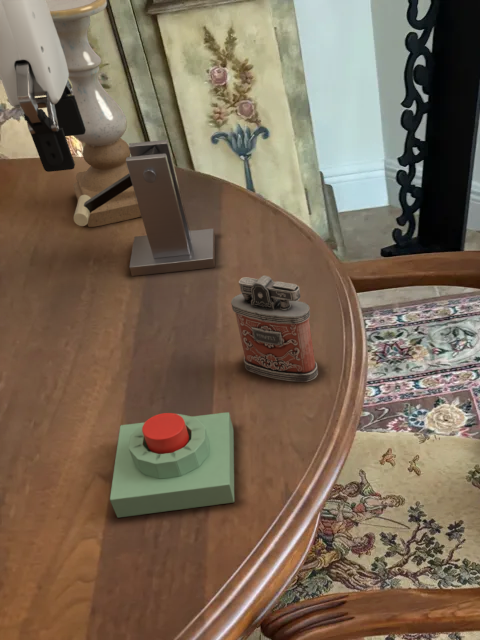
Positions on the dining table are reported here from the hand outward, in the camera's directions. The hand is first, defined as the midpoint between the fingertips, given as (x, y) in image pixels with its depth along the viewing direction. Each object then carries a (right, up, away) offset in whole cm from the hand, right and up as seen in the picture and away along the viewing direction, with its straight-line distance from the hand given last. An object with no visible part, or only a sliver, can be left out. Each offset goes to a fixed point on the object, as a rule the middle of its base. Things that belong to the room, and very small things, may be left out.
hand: (66, 151), depth 88 cm
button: (+17, -35, -19) cm, 44 cm away
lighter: (+25, -26, -6) cm, 37 cm away
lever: (+5, -3, +4) cm, 7 cm away
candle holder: (-1, +3, +21) cm, 22 cm away
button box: (+17, -37, -17) cm, 44 cm away
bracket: (+9, -8, +11) cm, 16 cm away
